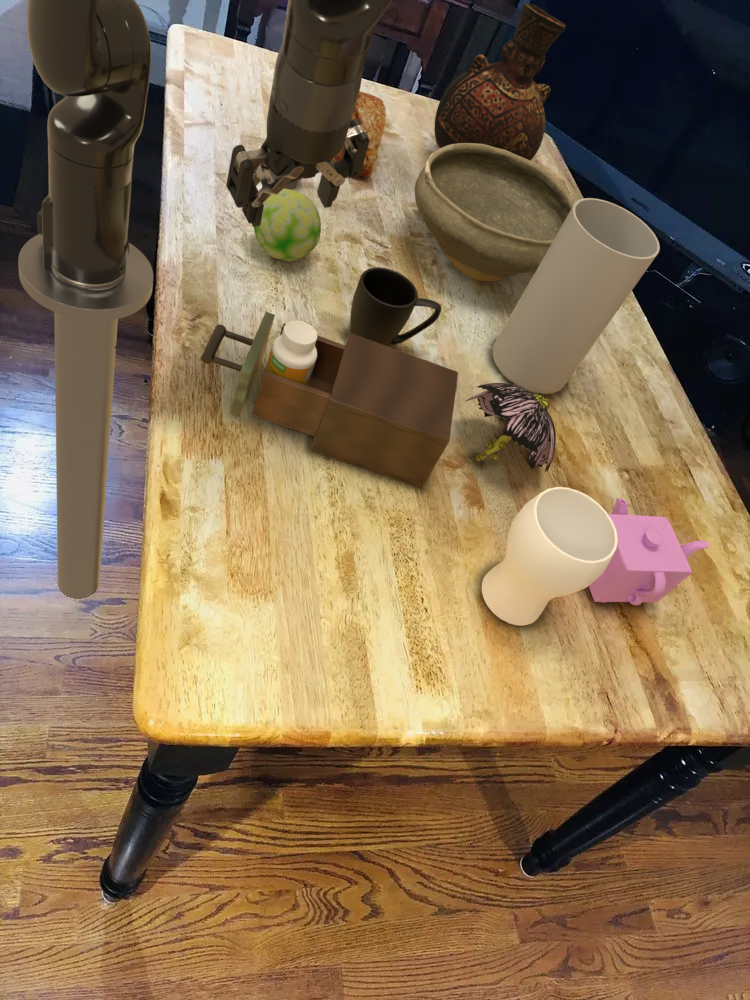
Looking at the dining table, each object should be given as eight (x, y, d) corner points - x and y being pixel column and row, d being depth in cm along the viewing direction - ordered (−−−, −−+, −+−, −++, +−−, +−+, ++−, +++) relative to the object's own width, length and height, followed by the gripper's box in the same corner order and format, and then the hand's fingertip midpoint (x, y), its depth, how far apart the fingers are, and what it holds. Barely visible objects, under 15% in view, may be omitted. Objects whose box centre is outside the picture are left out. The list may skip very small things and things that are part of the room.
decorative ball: (261, 276, 110) (275, 216, 102) (238, 233, 114) (250, 172, 107) (322, 275, 114) (340, 217, 107) (298, 233, 119) (314, 175, 111)
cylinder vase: (478, 337, 117) (557, 193, 99) (544, 339, 122) (631, 203, 104) (509, 396, 111) (600, 254, 92) (577, 396, 116) (676, 262, 97)
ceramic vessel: (421, 181, 141) (489, 9, 119) (416, 135, 152) (477, -32, 129) (523, 212, 147) (606, 52, 124) (511, 164, 157) (585, 9, 135)
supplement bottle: (253, 394, 92) (270, 334, 85) (271, 369, 96) (288, 309, 89) (294, 413, 92) (313, 355, 85) (309, 387, 96) (330, 329, 89)
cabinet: (310, 450, 92) (329, 399, 86) (330, 383, 101) (349, 332, 94) (421, 488, 94) (449, 441, 88) (432, 419, 103) (458, 371, 96)
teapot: (647, 533, 102) (692, 490, 95) (685, 620, 95) (737, 581, 88) (531, 528, 96) (570, 481, 89) (563, 621, 89) (608, 578, 81)
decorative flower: (606, 439, 96) (523, 405, 88) (552, 508, 101) (468, 482, 93) (550, 381, 106) (471, 346, 98) (503, 447, 111) (424, 418, 103)
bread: (369, 185, 134) (387, 131, 127) (268, 152, 130) (280, 95, 123) (373, 131, 147) (390, 79, 140) (281, 99, 143) (294, 44, 136)
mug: (419, 373, 108) (444, 322, 100) (338, 350, 105) (358, 296, 98) (420, 337, 113) (444, 285, 106) (343, 313, 110) (362, 259, 103)
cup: (544, 563, 93) (609, 490, 82) (560, 642, 87) (634, 574, 76) (464, 552, 90) (521, 474, 79) (475, 632, 84) (539, 560, 73)
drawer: (188, 399, 90) (196, 354, 85) (216, 341, 97) (225, 296, 92) (336, 450, 93) (354, 410, 87) (353, 389, 100) (369, 348, 95)
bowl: (513, 221, 143) (549, 151, 132) (569, 321, 128) (615, 252, 118) (377, 201, 132) (404, 124, 121) (421, 308, 117) (456, 230, 107)
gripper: (365, 47, 71) (331, 168, 86) (222, 74, 66) (213, 197, 81) (401, 112, 69) (360, 223, 84) (258, 145, 65) (242, 256, 80)
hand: (288, 210), depth 83 cm, fingers open, 8 cm apart
